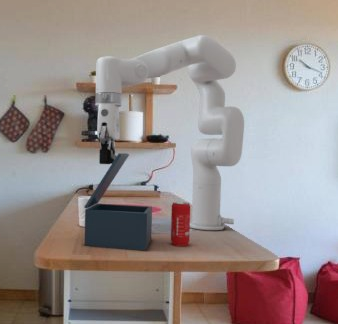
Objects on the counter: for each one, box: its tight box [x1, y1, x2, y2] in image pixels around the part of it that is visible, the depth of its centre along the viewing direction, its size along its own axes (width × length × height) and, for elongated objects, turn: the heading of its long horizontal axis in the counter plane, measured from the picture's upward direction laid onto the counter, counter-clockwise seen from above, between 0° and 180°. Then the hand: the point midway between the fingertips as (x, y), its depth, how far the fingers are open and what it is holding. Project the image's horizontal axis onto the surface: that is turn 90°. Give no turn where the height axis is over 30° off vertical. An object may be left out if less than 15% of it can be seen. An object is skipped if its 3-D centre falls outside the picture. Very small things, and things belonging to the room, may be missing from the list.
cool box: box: [83, 203, 153, 252], centre depth 112 cm, size 17×14×10 cm
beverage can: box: [170, 201, 191, 247], centre depth 112 cm, size 5×5×12 cm
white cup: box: [77, 195, 101, 228], centre depth 137 cm, size 8×8×10 cm
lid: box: [85, 150, 130, 209], centre depth 113 cm, size 18×14×6 cm
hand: (107, 163), depth 113 cm, fingers closed on lid, 5 cm apart
